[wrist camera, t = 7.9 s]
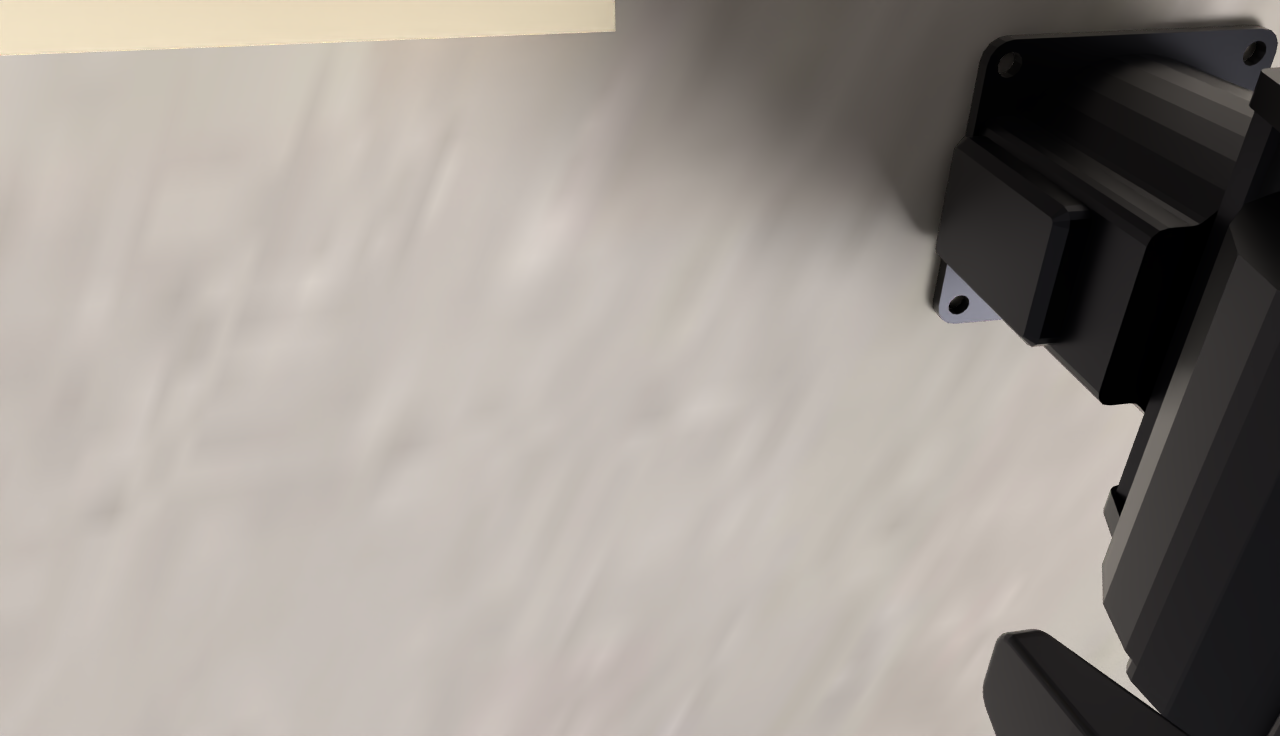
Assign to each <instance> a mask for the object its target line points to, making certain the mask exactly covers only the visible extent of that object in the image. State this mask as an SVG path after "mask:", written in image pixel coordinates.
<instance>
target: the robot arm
mask: <svg viewBox="0 0 1280 736" xmlns="http://www.w3.org/2000/svg"><path fill="white" fill-rule="evenodd" d="M1253 42H1256V47H1255V50H1254V52H1253V54H1252V56H1250V57H1249V58H1248V59H1247V60H1245V61H1243V54H1244V52H1245V51H1246V49H1247V47H1248V46H1250V45H1251V44H1252V43H1253ZM1277 44H1278V42H1277V38H1276V35H1275V34H1274V33H1273V32H1272V31H1271V30H1269V29H1266V28H1263V27H1259V26H1254V25H1246V26H1222V27H1198V28H1175V29H1151V30H1128V31H1104V32H1081V33H1057V34H1033V35H1010V36H1004V37H1000V38H998V39H996V40H995V41H993V42H992V43H990V44H989V46H988V47H987V48H986V49H985V51H984V52H983V54H982V57H981V60H980V63H979V68H978V73H977V78H976V83H975V88H974V93H973V99H972V104H971V109H970V114H969V119H968V124H967V129H966V134H965V137H964V138H963V139H962V140H961V141H960V142H959V144H958V145H957V146H956V147H955V149H954V153H953V159H952V164H951V169H950V174H949V180H948V185H947V190H946V195H945V201H944V206H943V211H942V216H941V222H940V227H939V232H938V237H937V243H936V253H937V254H938V255H939V256H940V257H941V262H940V268H939V273H938V278H937V283H936V288H935V293H934V298H933V308H934V310H935V311H936V313H937V314H938V315H939V317H940V318H941V319H942V320H944V321H946V322H947V323H967V322H978V321H989V320H1001V319H1002V320H1003V321H1004V322H1005V323H1006V324H1007V325H1008V326H1009V327H1010V328H1011V329H1012V330H1013V331H1014V332H1015V333H1016V334H1017V335H1018V336H1019V337H1020V338H1021V339H1022V340H1023V341H1024V342H1025V343H1026V344H1027V345H1029V346H1031V347H1035V346H1044V347H1045V348H1046V349H1047V350H1048V351H1049V352H1050V353H1051V354H1052V355H1053V356H1054V357H1055V358H1056V359H1057V360H1058V361H1059V362H1060V363H1061V364H1062V365H1063V366H1064V367H1065V368H1066V369H1067V370H1068V371H1069V372H1070V373H1071V374H1072V375H1073V376H1074V377H1075V378H1076V379H1077V380H1078V381H1079V382H1080V383H1081V384H1082V385H1083V386H1084V387H1085V388H1086V389H1087V390H1089V391H1090V392H1091V393H1092V394H1093V395H1094V396H1095V397H1096V398H1097V399H1098V400H1099V401H1100V402H1101V403H1102V404H1104V405H1118V404H1128V403H1133V404H1134V405H1135V406H1136V407H1137V408H1138V409H1139V410H1140V411H1141V412H1142V413H1143V414H1144V416H1143V419H1142V422H1141V425H1140V427H1139V430H1138V433H1137V436H1136V438H1135V441H1134V444H1133V447H1132V449H1131V452H1130V455H1129V458H1128V460H1127V463H1126V466H1125V469H1124V471H1123V474H1122V477H1121V480H1120V482H1119V485H1117V486H1114V487H1112V489H1111V490H1110V493H1109V496H1108V498H1107V501H1106V504H1105V507H1104V516H1105V519H1106V522H1107V524H1108V527H1109V530H1110V533H1111V536H1112V540H1111V542H1110V545H1109V548H1108V550H1107V553H1106V556H1105V558H1104V561H1103V564H1102V580H1103V605H1104V607H1105V609H1106V611H1107V613H1108V615H1109V618H1110V620H1111V622H1112V624H1113V626H1114V628H1115V631H1116V633H1117V635H1118V637H1119V639H1120V641H1121V643H1122V646H1123V648H1124V650H1125V651H1126V653H1127V654H1128V656H1129V657H1130V659H1129V661H1128V663H1127V670H1126V673H1127V675H1128V677H1129V679H1130V681H1131V682H1132V683H1133V684H1134V685H1135V686H1136V687H1137V688H1138V690H1139V691H1140V692H1141V693H1142V694H1143V695H1144V696H1145V697H1146V698H1147V699H1148V701H1149V702H1150V703H1151V704H1152V705H1153V706H1154V707H1155V708H1156V709H1157V710H1158V712H1159V713H1158V712H1157V711H1155V710H1154V709H1153V708H1151V707H1150V706H1148V705H1147V704H1146V703H1144V702H1143V701H1141V700H1140V699H1139V698H1137V697H1136V696H1134V695H1133V694H1132V693H1130V692H1129V691H1127V690H1126V689H1125V688H1123V687H1122V686H1120V685H1119V684H1118V683H1116V682H1115V681H1113V680H1112V679H1111V678H1109V677H1108V676H1106V675H1105V674H1104V673H1102V672H1101V671H1099V670H1098V669H1097V668H1095V667H1094V666H1092V665H1091V664H1090V663H1088V662H1087V661H1085V660H1084V659H1083V658H1081V657H1080V656H1078V655H1077V654H1076V653H1074V652H1073V651H1071V650H1070V649H1069V648H1067V647H1066V646H1064V645H1063V644H1062V643H1060V642H1059V641H1057V640H1056V639H1055V638H1053V637H1052V636H1050V635H1049V634H1047V633H1045V632H1043V631H1041V630H1037V629H1028V630H1021V631H1014V632H1007V633H1003V634H1002V635H1001V636H1000V637H999V638H998V639H997V641H996V644H995V647H994V650H993V653H992V657H991V660H990V663H989V666H988V670H987V673H986V676H985V679H984V684H983V698H984V703H985V707H986V710H987V713H988V715H989V718H990V721H991V723H992V726H993V729H994V731H995V734H996V736H1280V67H1278V68H1270V67H1271V65H1272V62H1273V59H1274V56H1275V54H1276V50H1277ZM1010 52H1013V53H1014V63H1013V65H1012V67H1011V68H1010V69H1009V70H1008V71H1007V72H1004V73H1001V74H999V72H998V64H999V62H1000V60H1001V58H1002V57H1004V56H1005V55H1006V54H1007V53H1010ZM960 295H963V300H962V302H961V303H960V304H959V305H958V306H957V307H954V308H949V304H950V302H951V300H952V299H954V298H955V297H957V296H960Z"/></svg>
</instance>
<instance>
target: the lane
mask: <svg viewBox="0 0 1280 736" xmlns="http://www.w3.org/2000/svg"><path fill="white" fill-rule="evenodd" d="M614 31H615V0H0V56H3V55H28V54H54V53H79V52H105V51H130V50H156V49H181V48H207V47H232V46H258V45H283V44H308V43H334V42H359V41H385V40H410V39H436V38H461V37H487V36H512V35H538V34H563V33H589V32H614Z"/></svg>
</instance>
